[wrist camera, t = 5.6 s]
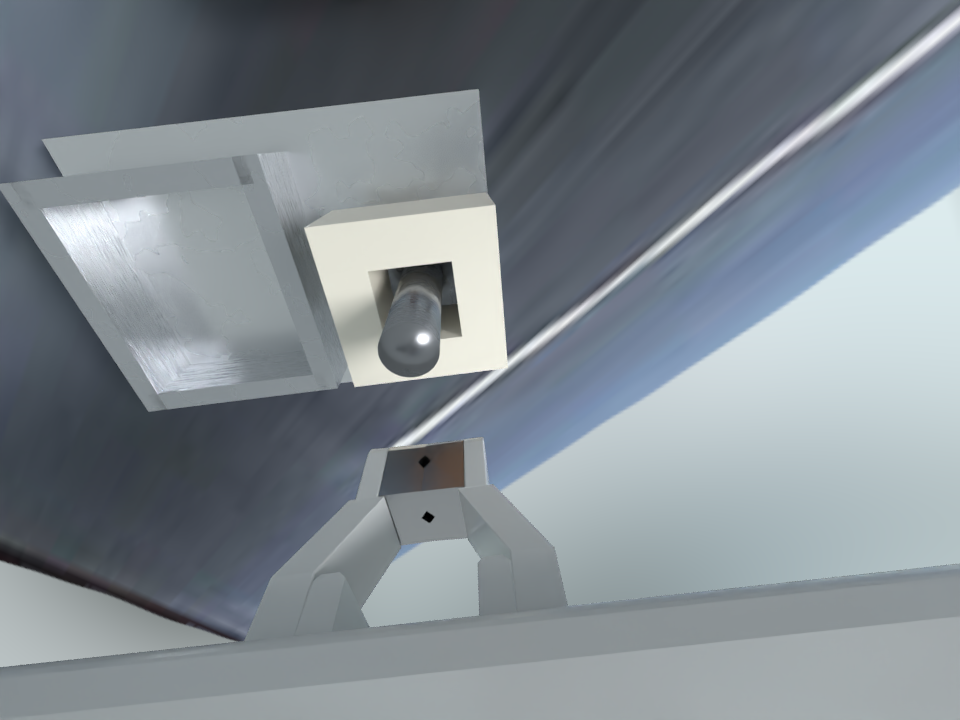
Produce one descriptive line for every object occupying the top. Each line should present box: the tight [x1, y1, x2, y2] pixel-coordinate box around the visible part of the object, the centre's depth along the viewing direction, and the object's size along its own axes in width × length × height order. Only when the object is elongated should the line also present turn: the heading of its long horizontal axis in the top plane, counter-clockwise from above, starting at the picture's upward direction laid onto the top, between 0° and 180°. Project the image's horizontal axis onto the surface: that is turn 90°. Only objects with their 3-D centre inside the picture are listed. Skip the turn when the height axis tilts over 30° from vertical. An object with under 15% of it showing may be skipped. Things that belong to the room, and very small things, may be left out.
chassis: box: [0, 89, 487, 412], centre depth 16 cm, size 19×14×12 cm
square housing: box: [304, 192, 508, 387], centre depth 16 cm, size 6×6×4 cm
